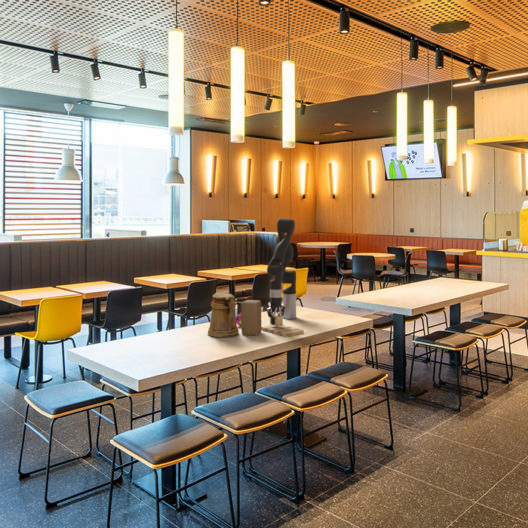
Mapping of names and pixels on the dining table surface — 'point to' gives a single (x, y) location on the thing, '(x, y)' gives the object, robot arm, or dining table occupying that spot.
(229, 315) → the tankard
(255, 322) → the wooden block
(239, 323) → the pencil case
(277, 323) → the sanding block
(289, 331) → the board
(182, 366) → the dining table surface
